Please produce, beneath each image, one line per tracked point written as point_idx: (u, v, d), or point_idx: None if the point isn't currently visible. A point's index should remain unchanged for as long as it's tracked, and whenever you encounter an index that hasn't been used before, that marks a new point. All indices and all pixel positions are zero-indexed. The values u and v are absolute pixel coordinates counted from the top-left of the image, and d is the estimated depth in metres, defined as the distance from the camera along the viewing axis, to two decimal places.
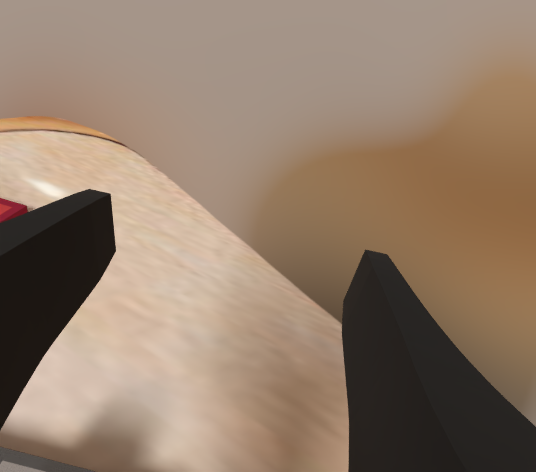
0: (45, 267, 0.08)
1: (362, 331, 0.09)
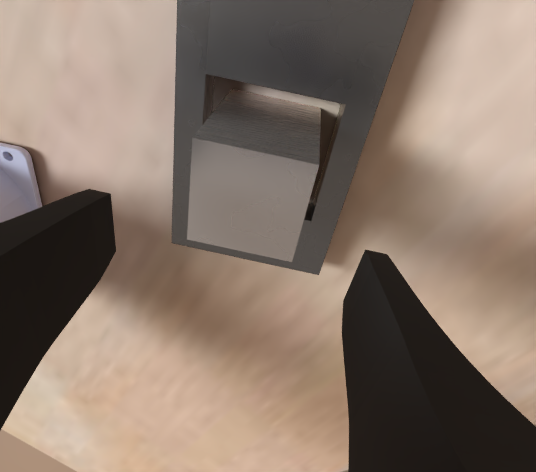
0: (45, 267, 0.08)
1: (362, 331, 0.09)
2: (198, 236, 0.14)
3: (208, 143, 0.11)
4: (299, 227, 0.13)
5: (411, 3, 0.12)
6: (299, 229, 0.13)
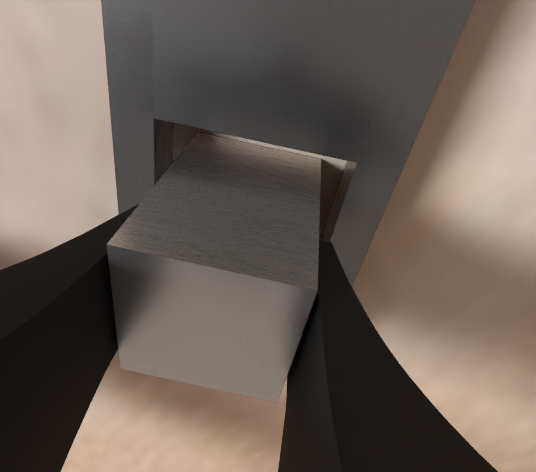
0: None
1: None
2: (136, 366, 0.09)
3: (133, 254, 0.07)
4: (287, 366, 0.08)
5: (464, 19, 0.08)
6: (287, 367, 0.08)
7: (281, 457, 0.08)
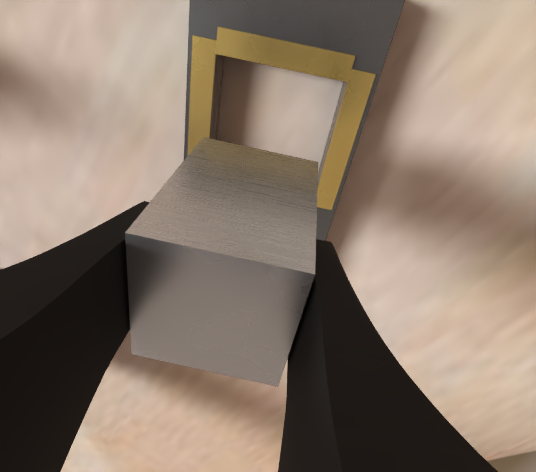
0: (114, 282, 0.08)
1: None
2: (146, 351, 0.10)
3: (149, 242, 0.08)
4: (287, 348, 0.09)
5: None
6: (287, 350, 0.09)
7: (281, 457, 0.08)
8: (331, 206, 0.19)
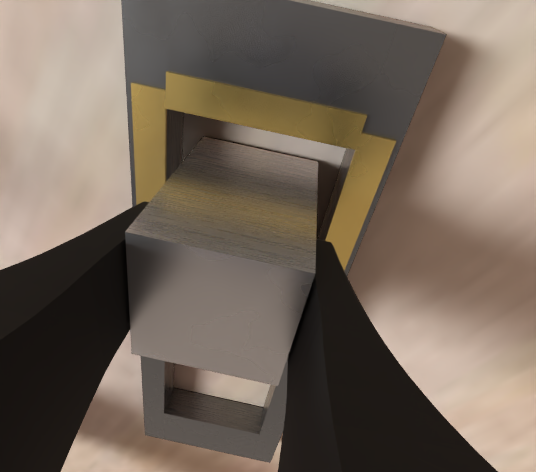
0: (114, 282, 0.08)
1: (300, 318, 0.09)
2: (147, 351, 0.10)
3: (149, 240, 0.08)
4: (288, 348, 0.09)
5: None
6: (287, 349, 0.09)
7: (281, 457, 0.08)
8: None
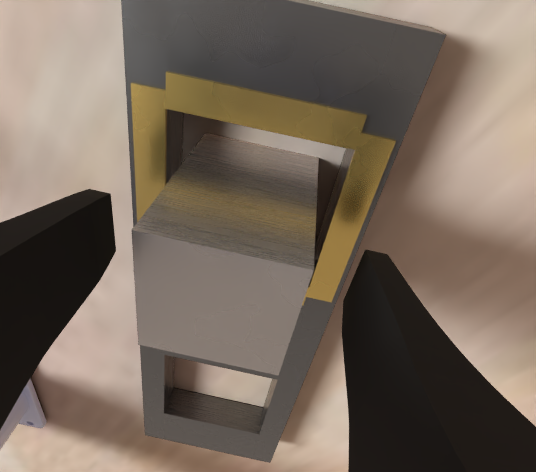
0: (45, 267, 0.08)
1: (362, 331, 0.09)
2: (153, 342, 0.10)
3: (155, 238, 0.08)
4: (288, 339, 0.09)
5: (319, 338, 0.16)
6: (287, 341, 0.09)
7: None
8: (331, 298, 0.14)
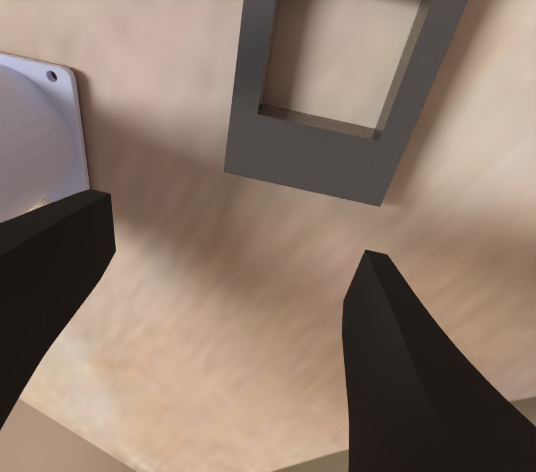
0: (45, 267, 0.08)
1: (362, 331, 0.09)
2: None
3: None
4: None
5: None
6: None
7: None
8: None
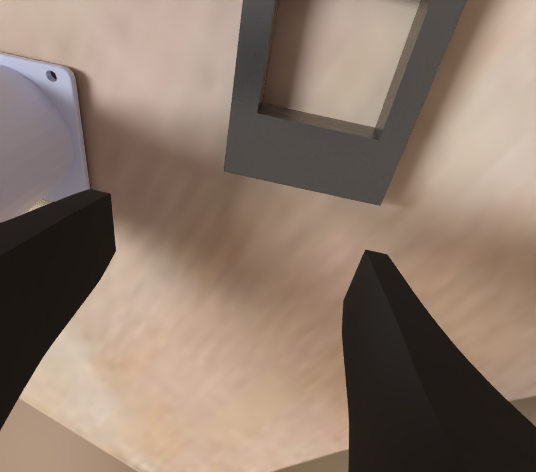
0: (45, 267, 0.08)
1: (362, 331, 0.09)
2: None
3: None
4: None
5: None
6: None
7: None
8: None
